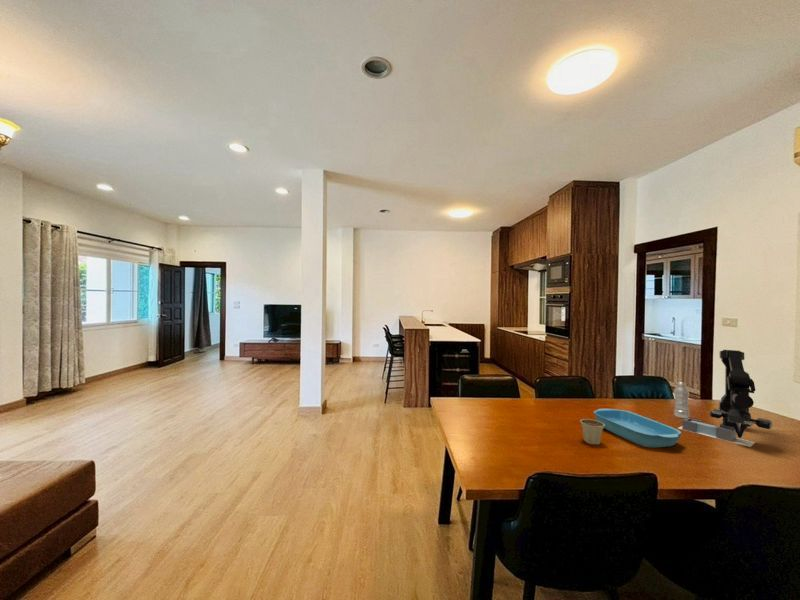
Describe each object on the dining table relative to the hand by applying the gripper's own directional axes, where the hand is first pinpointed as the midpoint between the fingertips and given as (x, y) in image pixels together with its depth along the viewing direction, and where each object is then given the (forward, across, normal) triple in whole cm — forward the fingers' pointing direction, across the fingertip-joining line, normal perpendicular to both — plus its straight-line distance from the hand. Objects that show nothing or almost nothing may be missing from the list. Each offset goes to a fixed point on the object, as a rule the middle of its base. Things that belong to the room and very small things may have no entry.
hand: (739, 437), depth 146 cm
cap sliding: (+2, -4, 0) cm, 5 cm away
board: (+2, -9, 0) cm, 9 cm away
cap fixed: (+2, -17, 0) cm, 17 cm away
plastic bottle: (+3, -26, +20) cm, 33 cm away
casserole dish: (+3, -30, -31) cm, 43 cm away
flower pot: (+2, -36, -57) cm, 68 cm away
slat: (+2, -10, 0) cm, 10 cm away
